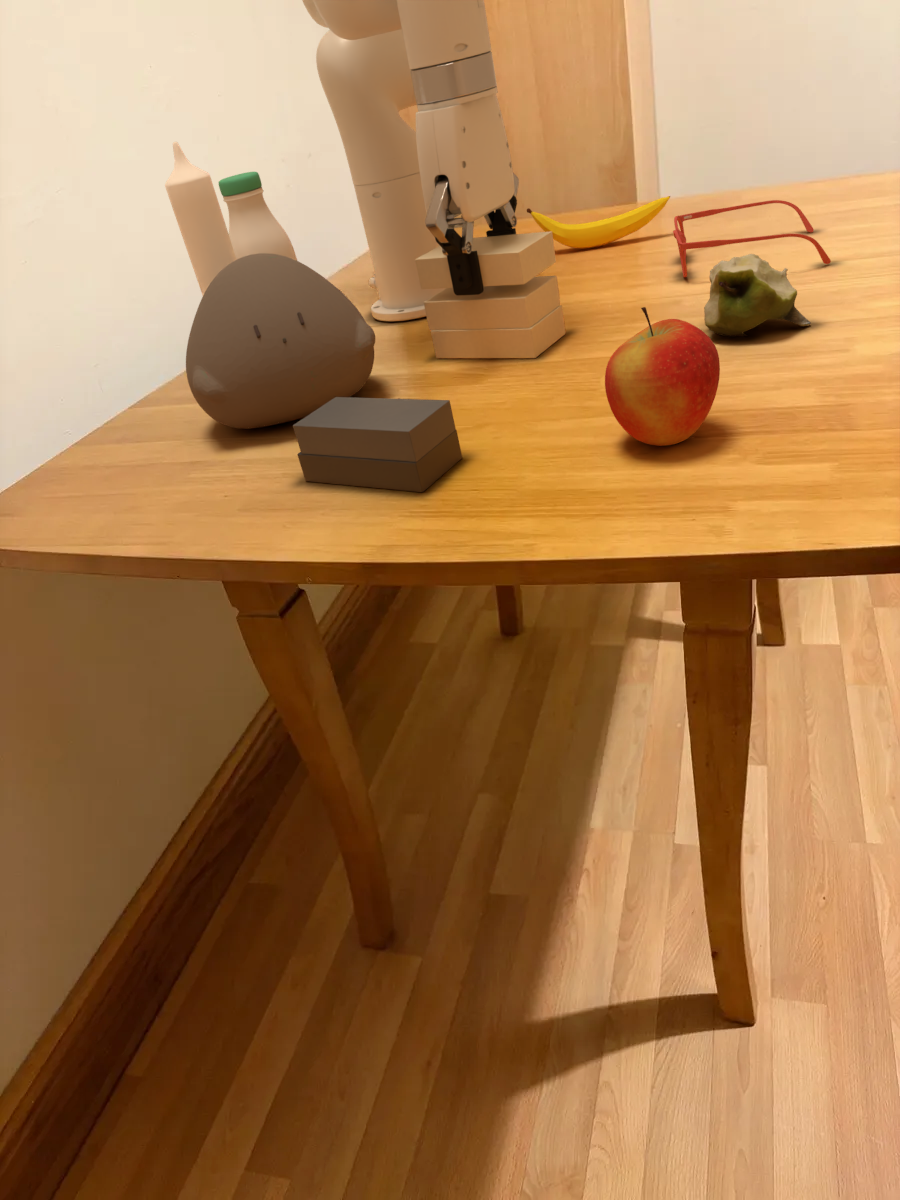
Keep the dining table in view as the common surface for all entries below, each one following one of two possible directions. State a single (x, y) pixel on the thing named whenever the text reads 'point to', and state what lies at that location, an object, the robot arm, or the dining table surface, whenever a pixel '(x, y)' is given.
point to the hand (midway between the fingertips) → (488, 280)
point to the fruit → (749, 296)
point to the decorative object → (274, 343)
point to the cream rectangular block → (494, 260)
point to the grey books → (378, 442)
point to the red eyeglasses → (703, 244)
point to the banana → (600, 226)
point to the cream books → (497, 320)
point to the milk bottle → (252, 218)
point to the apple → (663, 381)
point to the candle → (199, 219)
